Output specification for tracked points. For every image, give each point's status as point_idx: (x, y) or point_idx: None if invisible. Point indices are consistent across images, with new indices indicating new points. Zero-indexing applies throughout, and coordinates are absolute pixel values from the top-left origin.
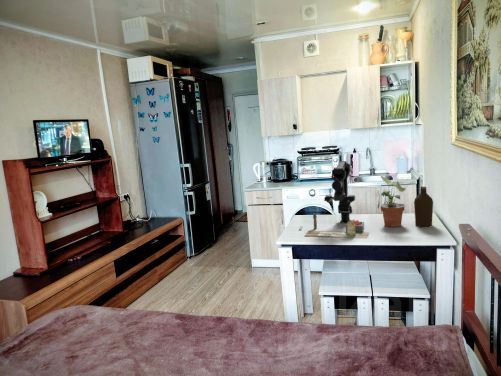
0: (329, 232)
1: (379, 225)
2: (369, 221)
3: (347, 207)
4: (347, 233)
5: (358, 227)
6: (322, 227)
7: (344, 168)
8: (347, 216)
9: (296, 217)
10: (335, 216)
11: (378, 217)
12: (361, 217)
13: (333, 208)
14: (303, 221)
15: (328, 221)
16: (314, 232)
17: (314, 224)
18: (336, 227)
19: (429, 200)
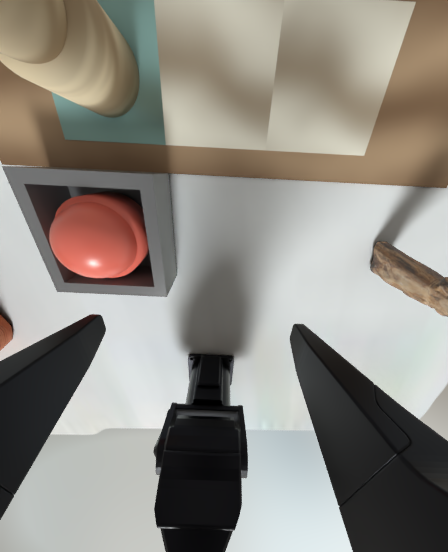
0: (291, 140)
1: (33, 318)
2: (106, 368)
3: (37, 357)
4: (121, 34)
5: (49, 168)
6: (329, 275)
7: None
8: (194, 386)
9: (426, 409)
10: (259, 417)
11: (92, 407)
12: (156, 407)
13: (299, 372)
14: (412, 365)
15: (289, 366)
16: (415, 133)
17: (408, 256)
18: (245, 278)
19: None
